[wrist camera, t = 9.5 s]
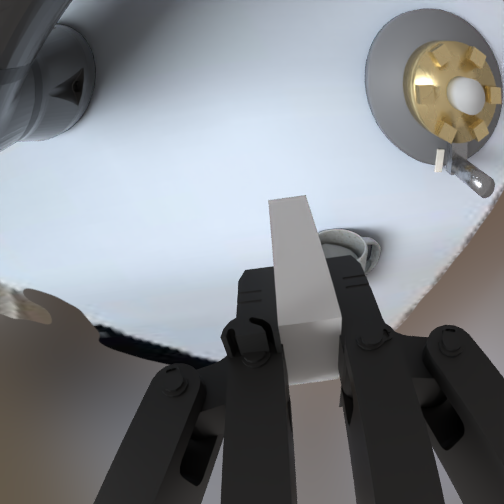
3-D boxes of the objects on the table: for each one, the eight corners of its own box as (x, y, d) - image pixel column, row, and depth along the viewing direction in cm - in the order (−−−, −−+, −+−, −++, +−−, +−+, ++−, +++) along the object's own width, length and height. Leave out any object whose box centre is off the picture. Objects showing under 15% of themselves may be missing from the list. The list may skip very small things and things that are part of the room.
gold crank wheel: (395, 38, 26) (436, 38, 19) (478, 44, 24) (525, 51, 17) (407, 172, 35) (441, 205, 28) (481, 163, 33) (520, 192, 26)
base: (334, 36, 28) (353, 32, 22) (466, -3, 22) (500, -5, 16) (398, 183, 38) (421, 209, 32) (507, 133, 32) (538, 151, 26)
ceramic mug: (306, 279, 47) (314, 317, 40) (302, 232, 42) (312, 268, 36) (375, 269, 46) (391, 304, 39) (378, 221, 41) (399, 254, 35)
